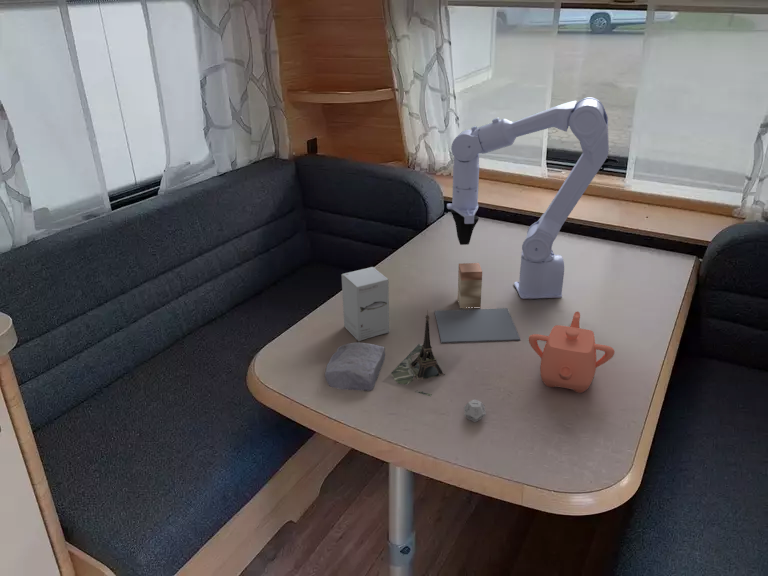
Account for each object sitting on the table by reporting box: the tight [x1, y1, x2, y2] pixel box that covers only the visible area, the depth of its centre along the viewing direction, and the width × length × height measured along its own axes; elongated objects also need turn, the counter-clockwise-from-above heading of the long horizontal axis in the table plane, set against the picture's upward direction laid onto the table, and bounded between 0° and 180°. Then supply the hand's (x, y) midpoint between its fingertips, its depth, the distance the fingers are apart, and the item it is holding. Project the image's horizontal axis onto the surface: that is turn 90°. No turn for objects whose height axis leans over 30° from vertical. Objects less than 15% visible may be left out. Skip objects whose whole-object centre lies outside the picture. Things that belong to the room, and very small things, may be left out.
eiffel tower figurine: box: [391, 309, 445, 397], centre depth 116 cm, size 15×10×13 cm
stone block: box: [324, 341, 386, 392], centre depth 118 cm, size 12×5×10 cm
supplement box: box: [340, 266, 390, 342], centre depth 129 cm, size 7×7×13 cm
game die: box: [463, 398, 487, 423], centre depth 105 cm, size 4×4×3 cm
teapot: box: [528, 311, 616, 394], centre depth 112 cm, size 14×12×10 cm
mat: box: [434, 307, 521, 344], centre depth 132 cm, size 16×13×1 cm
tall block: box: [457, 262, 483, 309], centre depth 139 cm, size 4×4×9 cm
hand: (463, 242), depth 146 cm, fingers closed
